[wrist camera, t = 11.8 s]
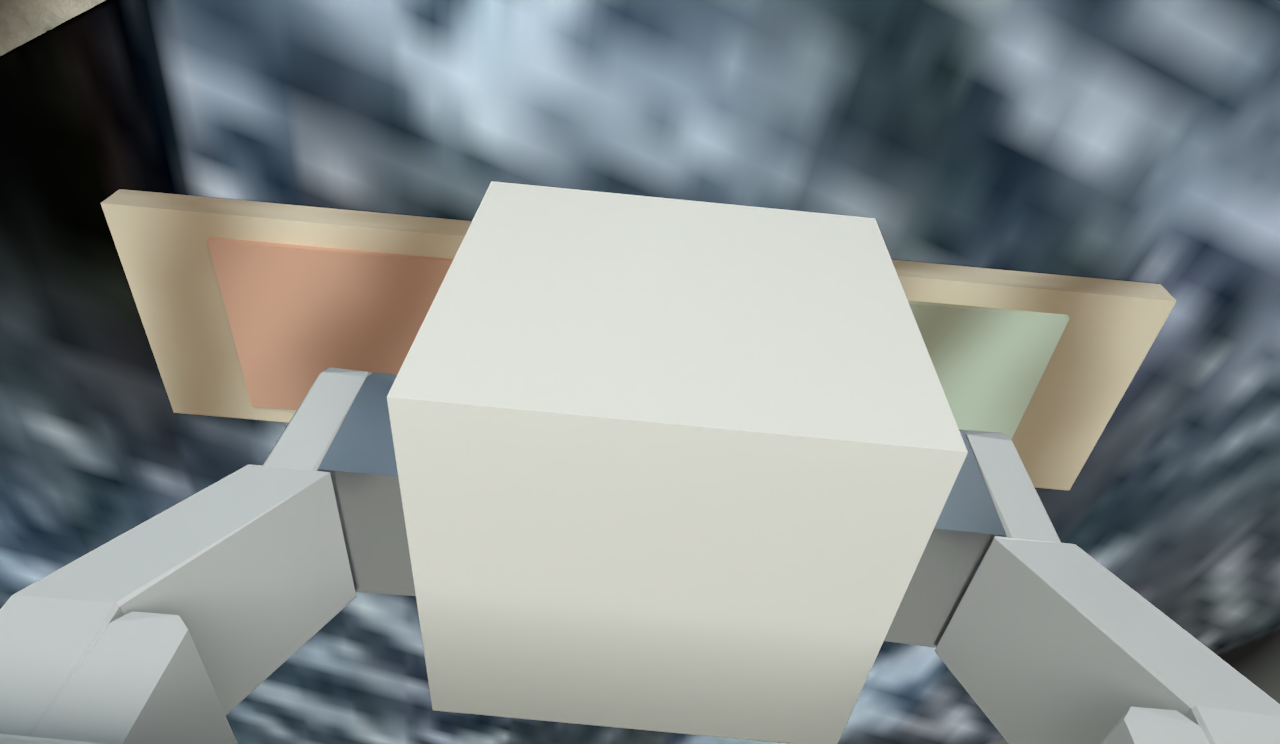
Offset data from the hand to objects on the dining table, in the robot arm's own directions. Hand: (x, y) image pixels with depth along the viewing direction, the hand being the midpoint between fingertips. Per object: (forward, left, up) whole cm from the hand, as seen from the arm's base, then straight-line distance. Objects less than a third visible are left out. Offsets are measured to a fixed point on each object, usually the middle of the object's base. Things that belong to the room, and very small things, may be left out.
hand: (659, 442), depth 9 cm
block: (0, 0, -2) cm, 2 cm away
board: (0, +9, -15) cm, 18 cm away
